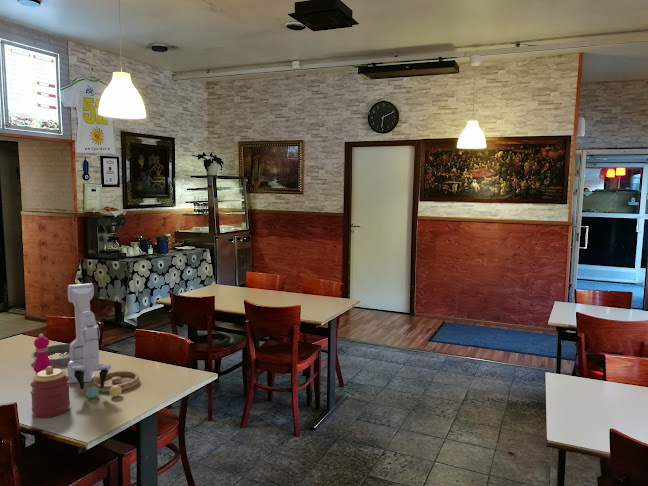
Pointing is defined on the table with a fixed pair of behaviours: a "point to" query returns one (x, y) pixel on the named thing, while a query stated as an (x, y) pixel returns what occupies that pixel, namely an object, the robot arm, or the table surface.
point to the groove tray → (117, 380)
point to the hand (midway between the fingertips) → (92, 387)
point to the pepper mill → (41, 354)
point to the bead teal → (92, 392)
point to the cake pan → (57, 349)
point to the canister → (50, 392)
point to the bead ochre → (115, 391)
